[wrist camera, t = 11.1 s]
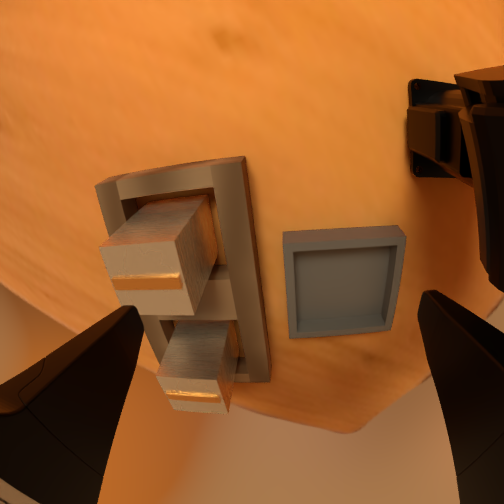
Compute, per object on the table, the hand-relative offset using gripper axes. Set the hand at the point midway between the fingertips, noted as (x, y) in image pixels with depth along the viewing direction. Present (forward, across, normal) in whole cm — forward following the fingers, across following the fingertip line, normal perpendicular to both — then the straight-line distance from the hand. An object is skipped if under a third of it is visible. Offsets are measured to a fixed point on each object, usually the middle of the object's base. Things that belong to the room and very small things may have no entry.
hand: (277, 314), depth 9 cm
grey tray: (+12, -4, +7) cm, 14 cm away
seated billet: (+12, +7, +2) cm, 14 cm away
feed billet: (+12, +7, +12) cm, 18 cm away
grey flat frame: (+12, +7, +7) cm, 16 cm away
